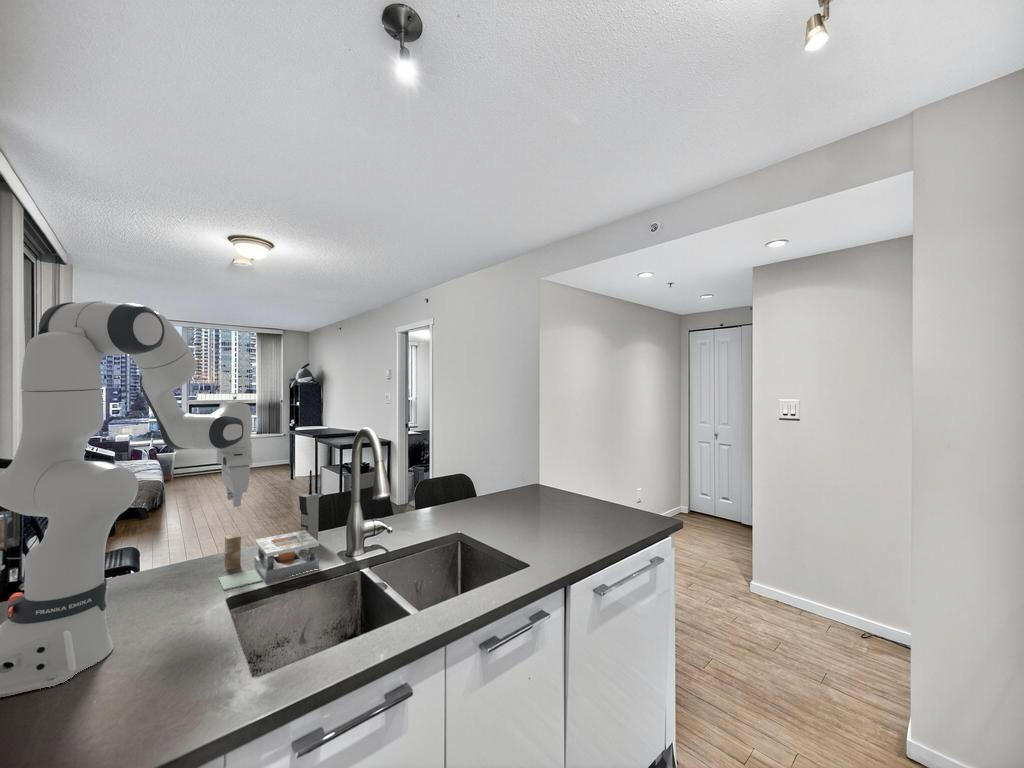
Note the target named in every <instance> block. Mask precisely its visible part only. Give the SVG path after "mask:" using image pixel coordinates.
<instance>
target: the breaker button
mask: <svg viewBox="0 0 1024 768" xmlns="http://www.w3.org/2000/svg"><path fill="white" fill-rule="evenodd" d="M289 544H292V543H291V542H290V543H282V544H280V545H279V546H284V545H289ZM294 559H295V551H293V552H288V553H283V554H279V555H278V562H281V563H283V562H288V561H292V560H294Z"/></svg>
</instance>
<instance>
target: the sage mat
mask: <svg viewBox="0 0 1024 768" xmlns="http://www.w3.org/2000/svg"><path fill="white" fill-rule="evenodd" d="M217 579H218V582H219V584H220V587H221V588H222V590H223V591H224V590H225V591H228V589H229V590H232V588H233V589H237V588H240V586H241V587H245V586H249V585H253V583H254V584H257V582H258V583H261V581H262V582H263V578H262V577H261V575H260V574H259V572H258V571H257V570H256V569H250V570H246V571H242V572H238V573H233V574H228V575H223V576H220V577H217ZM248 584H249V585H248ZM236 587H237V588H236Z"/></svg>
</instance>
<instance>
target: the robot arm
mask: <svg viewBox="0 0 1024 768" xmlns="http://www.w3.org/2000/svg"><path fill="white" fill-rule="evenodd" d="M116 355H117V356H118V355H120V356H121V355H129V356H130V358H131V360H133V362H134V364H135V365H136V367H137V368H138V370H139V372H140V374H141V375H140V376H139V387H140V390H141V392H142V395H143V397H144V399H145V401H146V403H147V405H148V407H149V409H150V410H151V412H152V415H153V417H154V418H155V420H156V422H157V424H158V428H159V431H160V436H161V440H163V443H164V444H165V445H166V446H167V447H168V448H169V449H170V450H171V449H172V450H175V451H179V450H181V451H182V450H216V463H217V464H218V465H221V481H222V483H223V484H224V485H225V486H226V487H225V488H226V497H227V498H226V499H228V501H231V500H232V506H233V507H234V508H237V507H241V505H242V498H243V494H245V493H247V492H248V489H249V484H250V483H249V482H250V474H251V473H250V472H251V465H253V455H252V452H253V451H252V450H253V449H252V448H253V446H252V445H253V443H252V440H251V435H252V432H253V418H252V417H253V415H252V411H251V410H252V409H251V407H250V404H247V403H246V402H242V401H234V400H232V401H231V400H226V401H222V402H220V404H219V407H218V408H217V409H216V410H215V411H213V412H211V413H210V414H209V413H208V414H202V413H201V414H199V413H198V414H197V413H196V414H194V413H189V412H188V411H187V412H186V411H184V410H183V409H182V408H181V406H180V404H179V402H178V400H177V398H176V395H175V394H174V391H175V390H177V389H179V388H181V387H182V386H184V385H185V384H186V383H188V382H189V381H191V379H192V378H193V376H194V374H195V372H196V370H197V367H198V366H197V362H196V358H195V356H194V354H193V352H192V350H191V349H190V347H189V345H188V344H187V342H186V341H185V339H184V338H183V335H181V333H180V332H179V331H178V329H177V328H176V327H175V326H174V325H173V324H172V322H170V320H169V319H168V318H167V317H166V316H165V315H164V314H162V313H161V312H157V311H154V310H153V309H152V308H150V307H148V306H145V305H142V304H137V303H130V302H125V303H121V302H120V303H119V302H107V301H99V300H97V301H96V300H95V301H94V300H93V301H92V300H91V301H82V302H81V301H80V302H75V301H74V302H63V303H59V304H56V305H53V306H50V307H49V308H48V309H46V311H44V312H43V314H42V315H41V317H40V320H39V323H38V331H37V335H35V336H33V337H32V338H31V339H29V340H28V342H27V344H26V348H25V352H24V357H23V360H22V369H21V381H20V383H21V386H20V387H21V407H22V408H21V412H22V413H21V415H22V416H21V417H22V419H21V420H22V421H21V422H22V427H21V434H20V440H19V444H18V447H17V449H16V452H15V455H14V457H13V460H12V461H11V463H10V464H9V465H8V467H6V468H5V469H3V470H2V471H1V472H0V507H1V508H4V509H6V510H8V511H11V512H13V513H16V514H19V515H23V516H30V517H40V518H41V517H44V518H47V519H48V520H47V521H48V523H47V528H46V530H45V533H44V536H43V538H42V540H41V541H40V542H39V543H37V544H35V545H34V546H33V547H32V548H31V549H30V550H29V551H28V552H27V554H26V556H25V559H24V592H14V593H13V594H11V595H10V596H9V599H8V601H7V611H6V612H7V613H6V614H7V619H6V620H5V621H3V623H1V624H0V695H1V694H5V693H11V692H17V691H25V690H30V689H34V688H39V687H44V686H49V685H54V684H59V683H63V682H64V681H67V680H68V679H70V678H71V677H72V676H74V675H75V674H77V673H78V672H79V673H81V672H83V671H85V670H86V668H87V669H88V667H89V668H90V666H91V667H92V666H94V665H96V664H98V663H99V662H101V661H102V660H104V659H105V658H106V657H108V656H109V654H111V652H112V651H113V649H114V642H113V640H112V637H111V634H110V631H109V627H108V623H107V616H106V608H107V604H108V593H109V592H108V588H109V586H108V581H107V578H105V562H106V561H105V559H106V547H107V541H108V537H109V534H110V532H111V529H112V527H113V525H114V523H115V522H116V520H117V519H118V517H119V516H120V515H121V514H123V513H124V512H126V510H128V509H129V508H130V507H131V506H132V504H133V503H134V502H135V500H136V498H137V495H138V492H139V481H138V478H137V476H136V474H135V473H134V472H133V471H132V470H130V469H129V468H127V467H123V466H120V465H118V464H114V463H111V462H108V461H98V460H97V461H96V460H95V461H93V460H85V451H86V448H87V445H88V443H89V441H90V439H92V437H93V436H95V435H96V434H98V433H99V432H100V431H101V430H102V428H103V427H104V405H103V404H104V400H103V397H104V396H103V381H102V373H101V367H100V366H101V363H102V360H103V359H104V357H105V356H116ZM97 662H98V663H97ZM84 669H85V670H84ZM82 670H83V671H82ZM80 671H81V672H80ZM79 673H78V674H79ZM78 674H77V675H78ZM75 676H76V675H75ZM75 676H74V677H75ZM71 679H72V678H71ZM71 679H70V680H71ZM67 682H68V681H67ZM63 684H64V683H63Z"/></svg>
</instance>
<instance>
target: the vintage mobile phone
mask: <svg viewBox="0 0 1024 768" xmlns="http://www.w3.org/2000/svg"><path fill="white" fill-rule="evenodd" d="M312 474H313V471H312V469H310V470H309V484H308V493H304V494H301V495H299V496H298V502H299V505H298V506H299V511H300V531H303V530H305V531H306V532H308V533H309V534H310V535H311V536H312V537H313V538H315V539H316V540H317V541H318V542H319V511H320V509H319V506H320V505H319V504H320V503H319V501H320V496H319V495H320V494H318V493H314V492H313V491H312V490H313V488H312V487H313V483H312V477H313V475H312Z"/></svg>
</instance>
